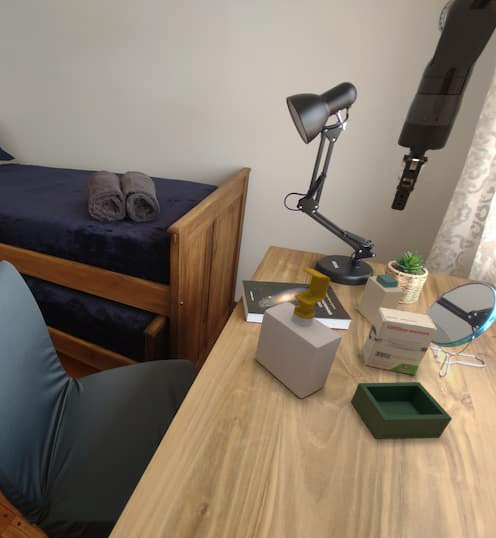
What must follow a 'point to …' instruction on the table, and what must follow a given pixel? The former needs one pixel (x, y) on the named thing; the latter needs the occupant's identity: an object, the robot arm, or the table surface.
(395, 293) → the beige teal-capped bottle
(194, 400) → the table surface
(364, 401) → the holder
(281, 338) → the soap bottle
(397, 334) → the ink box
